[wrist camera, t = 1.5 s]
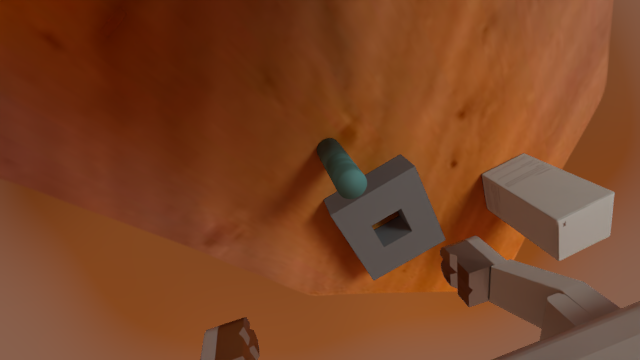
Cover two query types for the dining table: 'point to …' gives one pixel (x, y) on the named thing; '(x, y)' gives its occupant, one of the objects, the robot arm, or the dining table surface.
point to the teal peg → (341, 169)
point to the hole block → (378, 203)
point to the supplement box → (549, 205)
